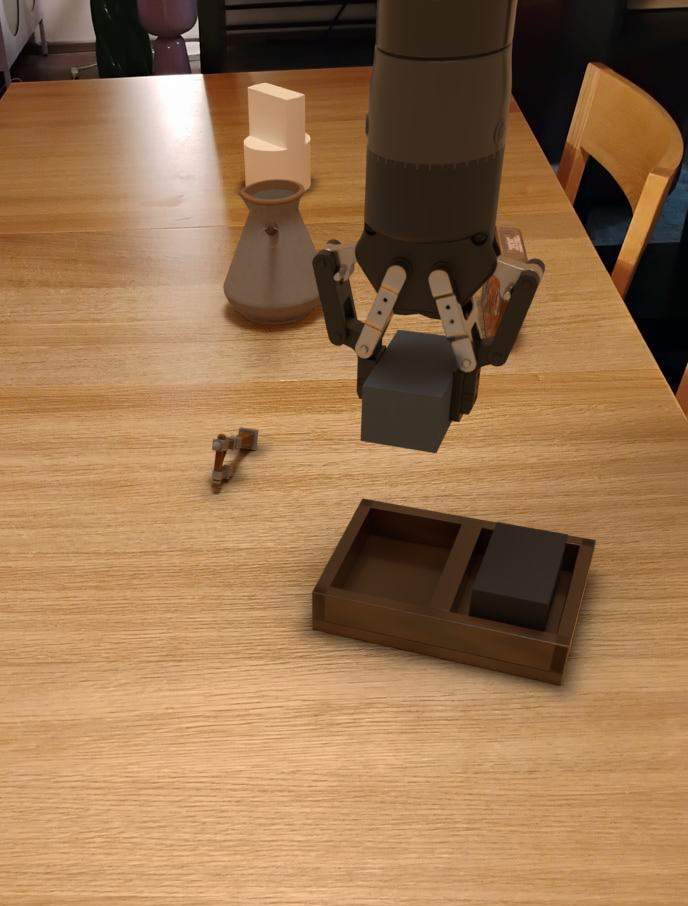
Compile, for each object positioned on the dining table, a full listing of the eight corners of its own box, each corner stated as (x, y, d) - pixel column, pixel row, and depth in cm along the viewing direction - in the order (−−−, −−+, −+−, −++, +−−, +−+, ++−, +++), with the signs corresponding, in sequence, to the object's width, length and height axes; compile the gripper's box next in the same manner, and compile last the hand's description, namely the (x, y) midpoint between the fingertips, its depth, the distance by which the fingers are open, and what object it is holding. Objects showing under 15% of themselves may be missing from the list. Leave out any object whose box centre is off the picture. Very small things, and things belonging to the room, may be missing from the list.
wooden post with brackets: (200, 487, 87) (206, 434, 86) (234, 474, 94) (240, 424, 93) (220, 491, 86) (226, 437, 85) (253, 477, 94) (259, 427, 92)
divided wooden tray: (587, 577, 76) (596, 539, 74) (560, 685, 68) (569, 647, 66) (360, 534, 82) (362, 497, 80) (311, 628, 74) (311, 592, 72)
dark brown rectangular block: (559, 577, 75) (568, 533, 72) (539, 648, 70) (548, 604, 67) (490, 564, 77) (496, 521, 74) (466, 632, 71) (471, 588, 69)
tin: (479, 289, 113) (488, 212, 108) (509, 289, 113) (519, 212, 107) (487, 354, 103) (497, 272, 97) (520, 354, 102) (532, 271, 96)
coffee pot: (227, 289, 118) (219, 152, 108) (327, 285, 117) (328, 146, 107) (216, 380, 103) (205, 230, 92) (332, 376, 101) (333, 224, 91)
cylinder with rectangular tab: (324, 185, 141) (324, 89, 133) (271, 202, 137) (268, 105, 129) (284, 170, 146) (282, 77, 138) (232, 186, 143) (227, 92, 135)
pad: (466, 393, 70) (472, 338, 67) (436, 453, 65) (441, 397, 62) (394, 382, 72) (397, 329, 69) (360, 441, 66) (362, 385, 64)
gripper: (581, 121, 56) (536, 398, 68) (333, 108, 61) (329, 368, 73) (558, 167, 52) (513, 457, 63) (289, 149, 56) (292, 421, 68)
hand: (414, 408), depth 68 cm, fingers closed on pad, 5 cm apart
